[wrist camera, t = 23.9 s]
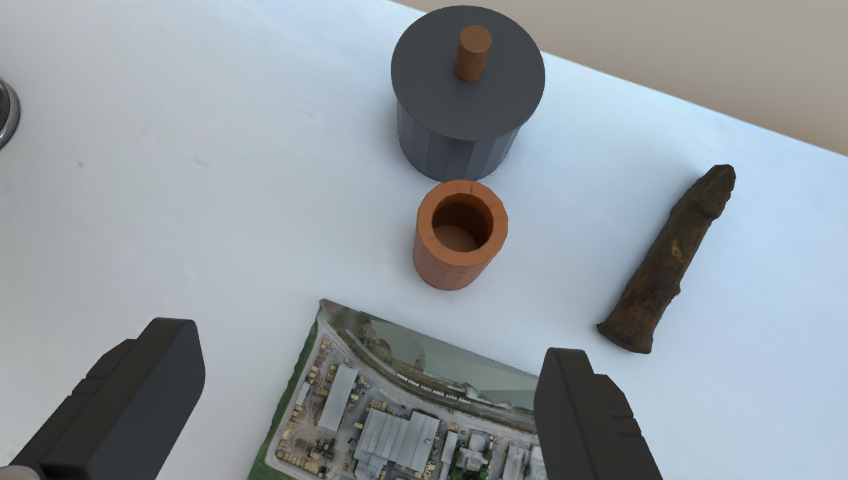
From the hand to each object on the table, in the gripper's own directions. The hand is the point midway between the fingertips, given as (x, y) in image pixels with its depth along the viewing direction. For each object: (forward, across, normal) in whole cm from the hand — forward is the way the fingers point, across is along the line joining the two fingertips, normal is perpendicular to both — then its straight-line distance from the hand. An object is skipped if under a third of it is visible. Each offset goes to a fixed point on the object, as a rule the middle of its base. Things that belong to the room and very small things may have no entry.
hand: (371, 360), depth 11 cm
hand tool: (+28, -22, +12) cm, 38 cm away
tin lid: (+29, -4, -1) cm, 30 cm away
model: (+12, 0, +29) cm, 31 cm away
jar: (+27, -4, +14) cm, 30 cm away
